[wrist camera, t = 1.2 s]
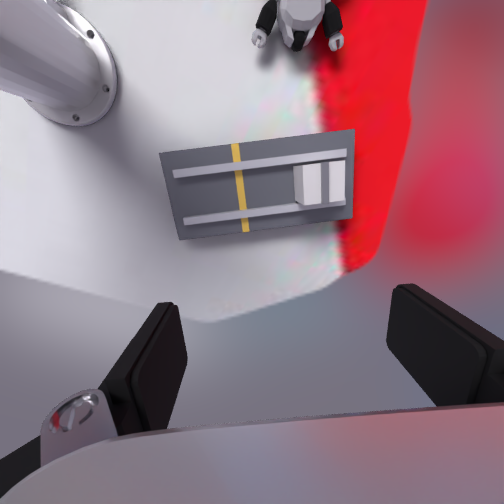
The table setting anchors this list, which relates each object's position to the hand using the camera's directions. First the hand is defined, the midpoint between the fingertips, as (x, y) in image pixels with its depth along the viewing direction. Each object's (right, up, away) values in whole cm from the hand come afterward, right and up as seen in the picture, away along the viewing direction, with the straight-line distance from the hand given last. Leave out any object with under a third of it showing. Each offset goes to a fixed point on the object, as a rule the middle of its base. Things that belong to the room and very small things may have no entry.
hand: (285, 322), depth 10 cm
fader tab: (+7, +13, +22) cm, 27 cm away
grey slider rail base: (0, +13, +25) cm, 29 cm away
